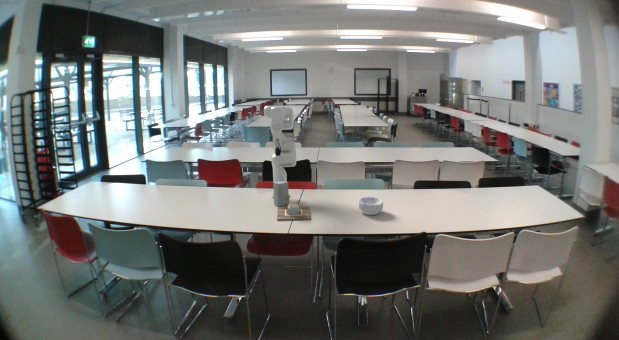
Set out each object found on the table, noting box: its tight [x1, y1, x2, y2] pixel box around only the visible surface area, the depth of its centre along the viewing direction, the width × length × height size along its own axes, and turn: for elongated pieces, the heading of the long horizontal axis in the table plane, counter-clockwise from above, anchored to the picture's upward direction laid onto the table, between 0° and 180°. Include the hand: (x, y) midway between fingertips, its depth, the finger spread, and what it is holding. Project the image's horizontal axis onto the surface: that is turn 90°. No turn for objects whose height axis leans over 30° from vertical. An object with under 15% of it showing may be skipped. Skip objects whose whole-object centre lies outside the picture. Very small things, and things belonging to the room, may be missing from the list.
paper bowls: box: [358, 196, 384, 216], centre depth 220 cm, size 15×15×8 cm
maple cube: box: [289, 197, 298, 208], centre depth 218 cm, size 5×5×5 cm
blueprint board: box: [276, 203, 311, 222], centre depth 219 cm, size 20×20×5 cm
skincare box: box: [273, 181, 290, 208], centre depth 235 cm, size 8×7×16 cm
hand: (278, 154), depth 221 cm, fingers open, 9 cm apart
